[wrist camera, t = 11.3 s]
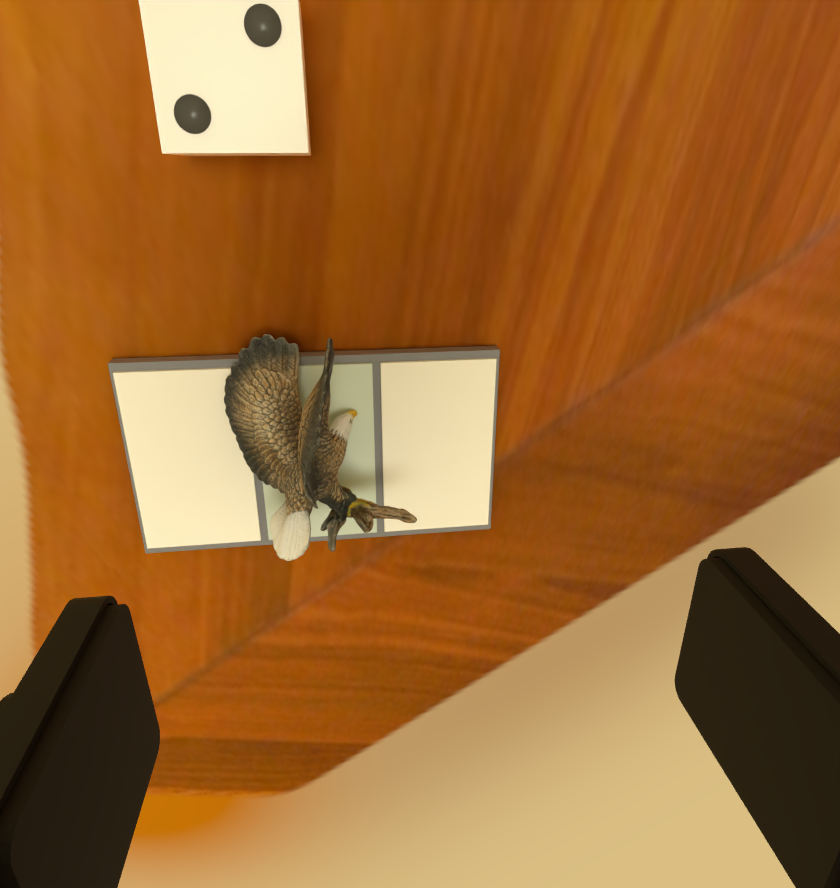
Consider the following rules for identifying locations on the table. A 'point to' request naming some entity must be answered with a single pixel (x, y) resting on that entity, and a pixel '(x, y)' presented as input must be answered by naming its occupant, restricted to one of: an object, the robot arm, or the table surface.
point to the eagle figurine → (295, 444)
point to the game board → (371, 437)
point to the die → (228, 76)
